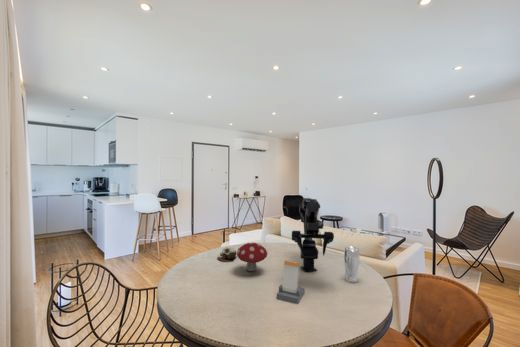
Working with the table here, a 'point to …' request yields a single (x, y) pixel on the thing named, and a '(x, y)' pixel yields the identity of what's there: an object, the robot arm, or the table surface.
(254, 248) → the decorative mushroom
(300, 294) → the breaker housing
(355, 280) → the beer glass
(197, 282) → the table surface
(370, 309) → the table surface
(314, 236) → the robot arm
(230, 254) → the skull
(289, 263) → the lever
